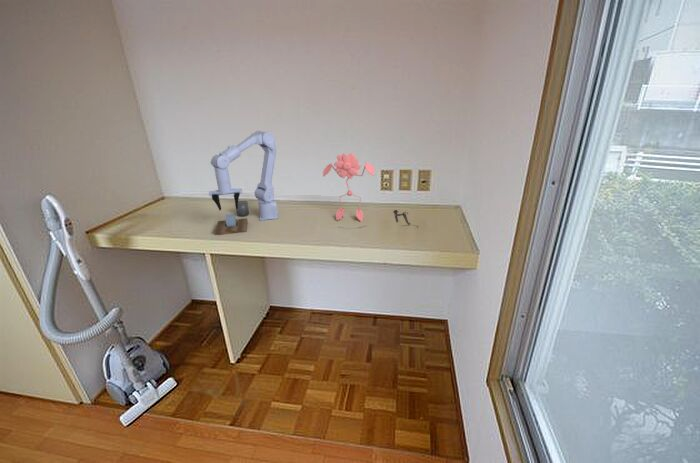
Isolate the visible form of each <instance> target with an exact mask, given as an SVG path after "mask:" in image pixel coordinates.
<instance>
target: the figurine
mask: <svg viewBox="0 0 700 463" xmlns="http://www.w3.org/2000/svg"><path fill="white" fill-rule="evenodd" d="M336 159H337V161H335V162H334V164H332V163H329V164H327V165H326V166H325V168H324V169H323V172H322V177H325V176H327V175H328V174H329V173H330V172H331V170H332V168H333V170H334V171H335V173H336V174H337V175H338V176H339V177H340V178H342V179H345V178H346V177H347V179H346V180H345V181H346V182H345V184H346V186H347V189H348V190H347V192H346V194H343V195H340V196H339V197H338V198H339V199H341V198H342V197H345V196H346V195H347V196H349V197H351V196H353V197H358V199H359V202H361V199H362V198H361V196H358V195H355V194H353V191H352V190H350V187H349V183H348V181H349V179H353V178H354V177H356V176H357V177H363V176H364V174H365V170H366V172H367V173H368V174H370V175H372V176H375V175H376V174H375V167H374V166H373V164H371V163H370V162H368V161H365V163H364V167H363V170H362V172H361V174H359V172H358V171H359V170H360V169H361V168H362V166H361V164H360V163H359V159H358V158H356V157H355V154H354V152H350V153H349V155H348V154H347V153H345V152H344V153H342V155H341V154H340V155H337V156H336ZM333 165H334V166H333ZM335 167H336V168H335ZM353 176H354V177H353ZM341 203H342V201H341V200H339V205H340V208H339V209H337V211H336V213H335V219H336V221H337V222H338V221H339V220H341V219H342V218H344V214H345V210H344V208H342V204H341ZM360 208H361V203H359V205H358V209H356V212H355V215H356V218H357V219H358V220H359V221H360V222H363V219H364V213H363V211H362V209H360ZM331 217H333V215H331ZM365 226H366V227H367V225H365ZM365 226H362V228H363V227H365ZM339 228H341V229H343V227H341V226H339ZM360 228H361V226H359V227H358V229H360Z"/></svg>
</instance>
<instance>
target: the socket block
mask: <svg viewBox="0 0 700 463" xmlns="http://www.w3.org/2000/svg"><path fill="white" fill-rule="evenodd" d="M235 219H236V224H237V226H228V227H227V224H226V219H224V220H218V221H217V223H216V225H215V228H214V233H215V236H220V235H229V234H238V233H247V230H248V224H249V222H248V217H246V218H235Z"/></svg>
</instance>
